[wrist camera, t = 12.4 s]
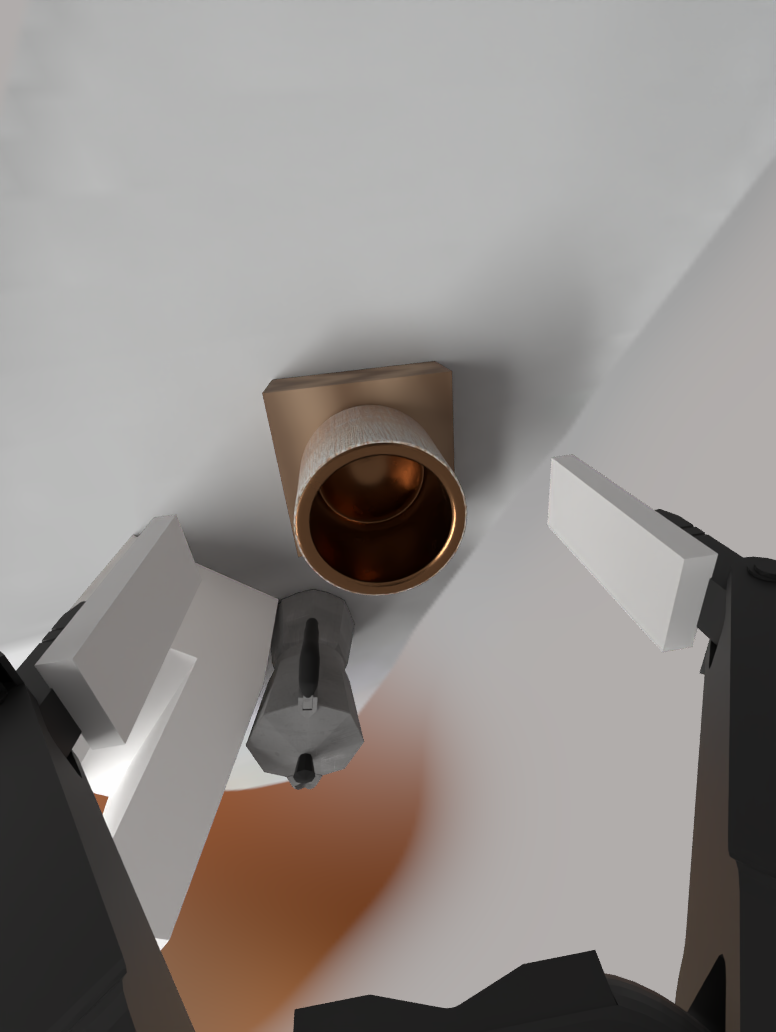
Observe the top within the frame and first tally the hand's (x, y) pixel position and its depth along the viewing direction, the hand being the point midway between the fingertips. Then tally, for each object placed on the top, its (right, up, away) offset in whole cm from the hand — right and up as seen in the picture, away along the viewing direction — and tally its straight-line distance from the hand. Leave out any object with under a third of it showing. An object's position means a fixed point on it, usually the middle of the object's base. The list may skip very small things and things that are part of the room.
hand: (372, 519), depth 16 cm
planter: (-1, +4, +20) cm, 20 cm away
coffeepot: (-8, -11, +33) cm, 36 cm away
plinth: (-2, +6, +25) cm, 26 cm away
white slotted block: (-23, -12, +32) cm, 41 cm away
